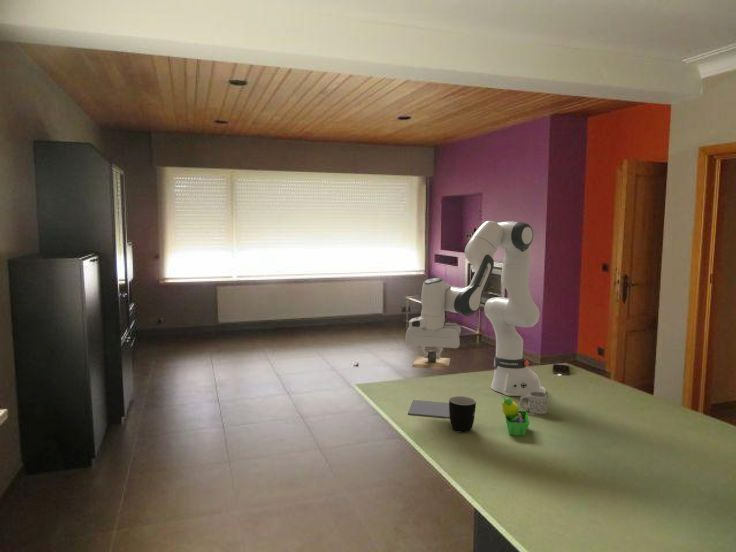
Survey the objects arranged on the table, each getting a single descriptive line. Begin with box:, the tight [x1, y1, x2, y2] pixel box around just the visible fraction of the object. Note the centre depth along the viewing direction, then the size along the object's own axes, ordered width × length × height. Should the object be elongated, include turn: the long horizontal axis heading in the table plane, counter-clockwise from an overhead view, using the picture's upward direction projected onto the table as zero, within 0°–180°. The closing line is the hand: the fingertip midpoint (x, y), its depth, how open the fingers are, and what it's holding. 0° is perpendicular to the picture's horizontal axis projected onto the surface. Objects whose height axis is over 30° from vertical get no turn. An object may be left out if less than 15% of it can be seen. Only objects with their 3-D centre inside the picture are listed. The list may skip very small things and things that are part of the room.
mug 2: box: [519, 392, 548, 415], centre depth 198 cm, size 10×7×7 cm, turn 84°
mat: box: [407, 399, 450, 419], centre depth 198 cm, size 15×15×1 cm
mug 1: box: [448, 395, 477, 433], centre depth 181 cm, size 12×9×10 cm
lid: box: [412, 349, 451, 371], centre depth 196 cm, size 13×13×5 cm
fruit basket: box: [501, 397, 530, 437], centre depth 179 cm, size 11×9×11 cm
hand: (431, 358), depth 197 cm, fingers closed on lid, 3 cm apart
